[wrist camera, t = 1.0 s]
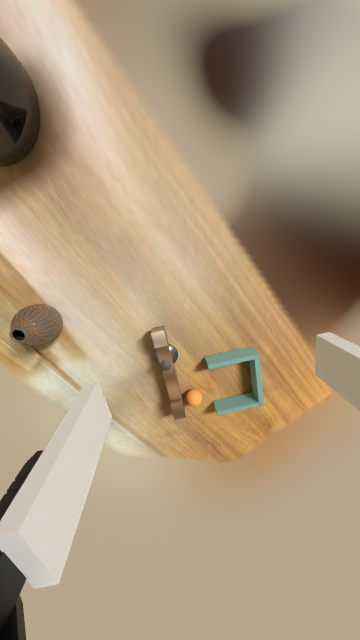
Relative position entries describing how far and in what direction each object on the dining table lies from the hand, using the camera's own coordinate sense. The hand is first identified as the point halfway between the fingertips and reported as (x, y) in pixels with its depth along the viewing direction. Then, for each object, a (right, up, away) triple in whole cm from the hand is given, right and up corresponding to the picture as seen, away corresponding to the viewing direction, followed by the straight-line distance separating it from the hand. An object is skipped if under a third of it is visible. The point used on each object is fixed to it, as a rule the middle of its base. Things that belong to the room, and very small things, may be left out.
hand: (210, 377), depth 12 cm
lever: (-4, -7, +31) cm, 32 cm away
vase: (-27, +4, +27) cm, 38 cm away
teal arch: (+10, -9, +34) cm, 36 cm away
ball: (+1, -14, +33) cm, 36 cm away
